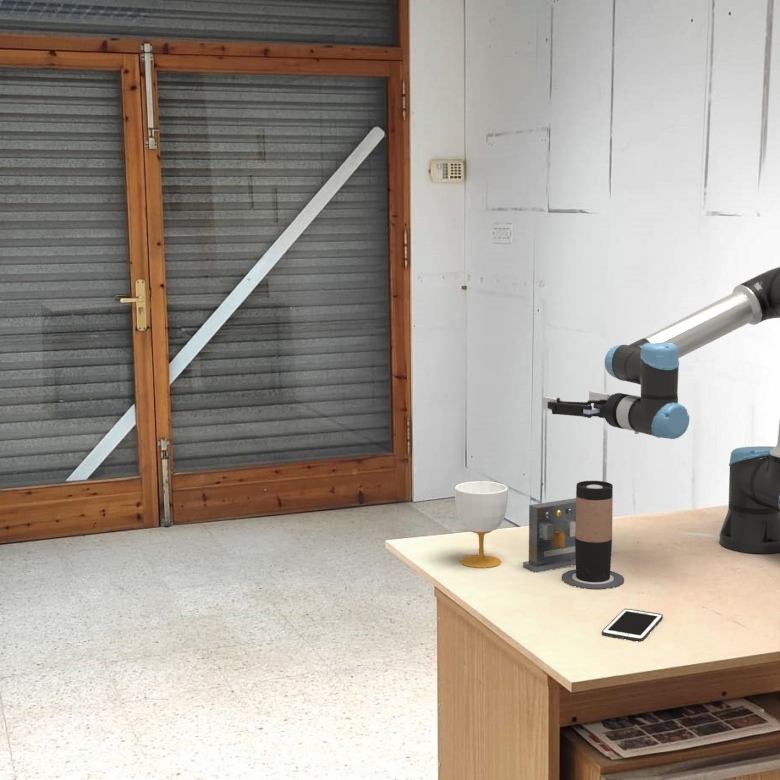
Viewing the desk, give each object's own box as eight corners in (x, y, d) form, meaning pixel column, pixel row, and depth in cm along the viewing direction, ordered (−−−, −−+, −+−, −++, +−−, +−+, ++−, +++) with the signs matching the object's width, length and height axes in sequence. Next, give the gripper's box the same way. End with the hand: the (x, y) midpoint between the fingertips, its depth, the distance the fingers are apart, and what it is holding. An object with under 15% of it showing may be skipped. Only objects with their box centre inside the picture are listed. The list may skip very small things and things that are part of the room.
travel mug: (567, 574, 239) (568, 482, 236) (598, 569, 242) (599, 479, 239) (587, 584, 232) (589, 490, 229) (618, 580, 235) (620, 486, 232)
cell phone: (600, 637, 205) (600, 632, 205) (624, 612, 218) (624, 607, 218) (641, 644, 202) (641, 639, 202) (664, 619, 214) (664, 614, 214)
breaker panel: (582, 556, 253) (583, 496, 251) (596, 562, 249) (597, 501, 247) (523, 567, 246) (523, 504, 244) (536, 573, 242) (537, 510, 240)
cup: (516, 566, 247) (517, 490, 244) (467, 572, 243) (467, 495, 240) (493, 552, 258) (494, 479, 255) (446, 557, 254) (446, 483, 251)
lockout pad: (633, 576, 239) (633, 573, 239) (610, 593, 228) (610, 590, 228) (576, 566, 246) (576, 564, 246) (551, 582, 235) (551, 580, 235)
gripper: (581, 435, 237) (523, 421, 256) (671, 423, 249) (609, 410, 267) (582, 400, 236) (522, 388, 255) (672, 389, 248) (609, 378, 266)
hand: (566, 399), depth 261 cm, fingers open, 13 cm apart
